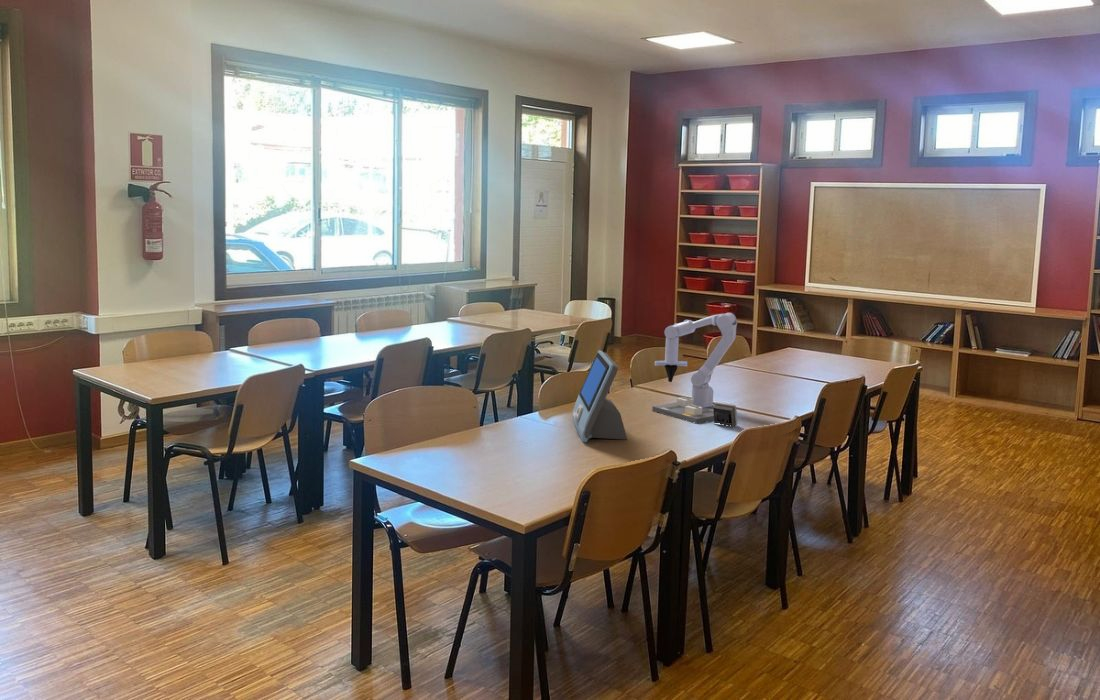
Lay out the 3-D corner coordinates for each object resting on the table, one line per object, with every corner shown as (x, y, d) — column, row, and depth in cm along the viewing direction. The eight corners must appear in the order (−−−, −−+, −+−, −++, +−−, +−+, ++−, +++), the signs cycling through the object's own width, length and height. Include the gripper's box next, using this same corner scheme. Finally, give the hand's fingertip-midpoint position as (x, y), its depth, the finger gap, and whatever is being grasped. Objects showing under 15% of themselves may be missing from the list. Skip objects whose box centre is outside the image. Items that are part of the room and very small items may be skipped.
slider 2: (693, 411, 364) (693, 403, 363) (702, 414, 360) (702, 405, 359) (684, 413, 361) (685, 404, 360) (693, 415, 357) (694, 407, 356)
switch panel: (681, 406, 384) (682, 401, 383) (726, 418, 363) (726, 413, 363) (652, 410, 373) (652, 406, 373) (696, 423, 352) (696, 418, 352)
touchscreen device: (568, 420, 352) (573, 347, 347) (615, 422, 354) (620, 350, 349) (577, 443, 318) (583, 363, 313) (629, 445, 319) (636, 365, 315)
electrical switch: (737, 425, 351) (737, 404, 349) (732, 429, 347) (733, 407, 344) (715, 422, 356) (716, 400, 354) (710, 426, 352) (711, 404, 349)
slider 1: (684, 403, 379) (685, 395, 378) (692, 406, 375) (693, 397, 374) (676, 405, 376) (676, 397, 375) (684, 407, 372) (685, 399, 371)
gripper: (656, 353, 383) (655, 383, 386) (689, 353, 384) (687, 383, 386) (654, 350, 390) (653, 379, 393) (686, 351, 391) (684, 380, 393)
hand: (670, 381), depth 390 cm, fingers closed
